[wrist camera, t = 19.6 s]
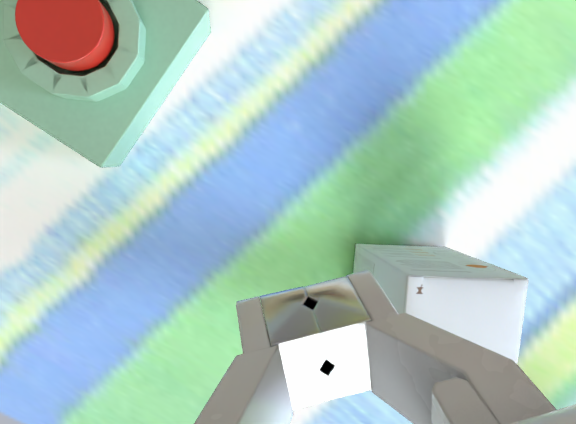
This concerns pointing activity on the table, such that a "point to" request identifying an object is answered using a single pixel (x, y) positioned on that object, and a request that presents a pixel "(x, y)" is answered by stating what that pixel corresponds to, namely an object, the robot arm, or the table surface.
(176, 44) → the green push button box
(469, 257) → the small box
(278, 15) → the table surface
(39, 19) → the button
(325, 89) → the table surface
